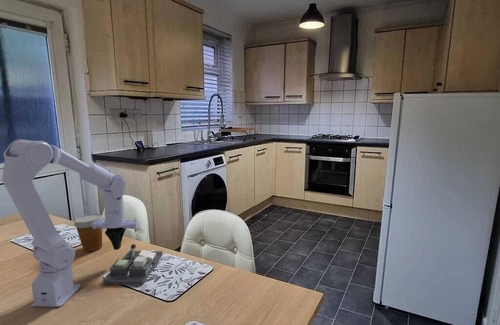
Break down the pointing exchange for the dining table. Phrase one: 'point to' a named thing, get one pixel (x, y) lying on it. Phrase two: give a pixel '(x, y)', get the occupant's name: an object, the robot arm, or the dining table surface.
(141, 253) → the rocker
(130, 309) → the dining table surface
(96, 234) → the disposable coffee cup
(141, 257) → the button
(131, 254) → the toggle lever
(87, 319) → the dining table surface
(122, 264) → the button
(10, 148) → the robot arm
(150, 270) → the panel
